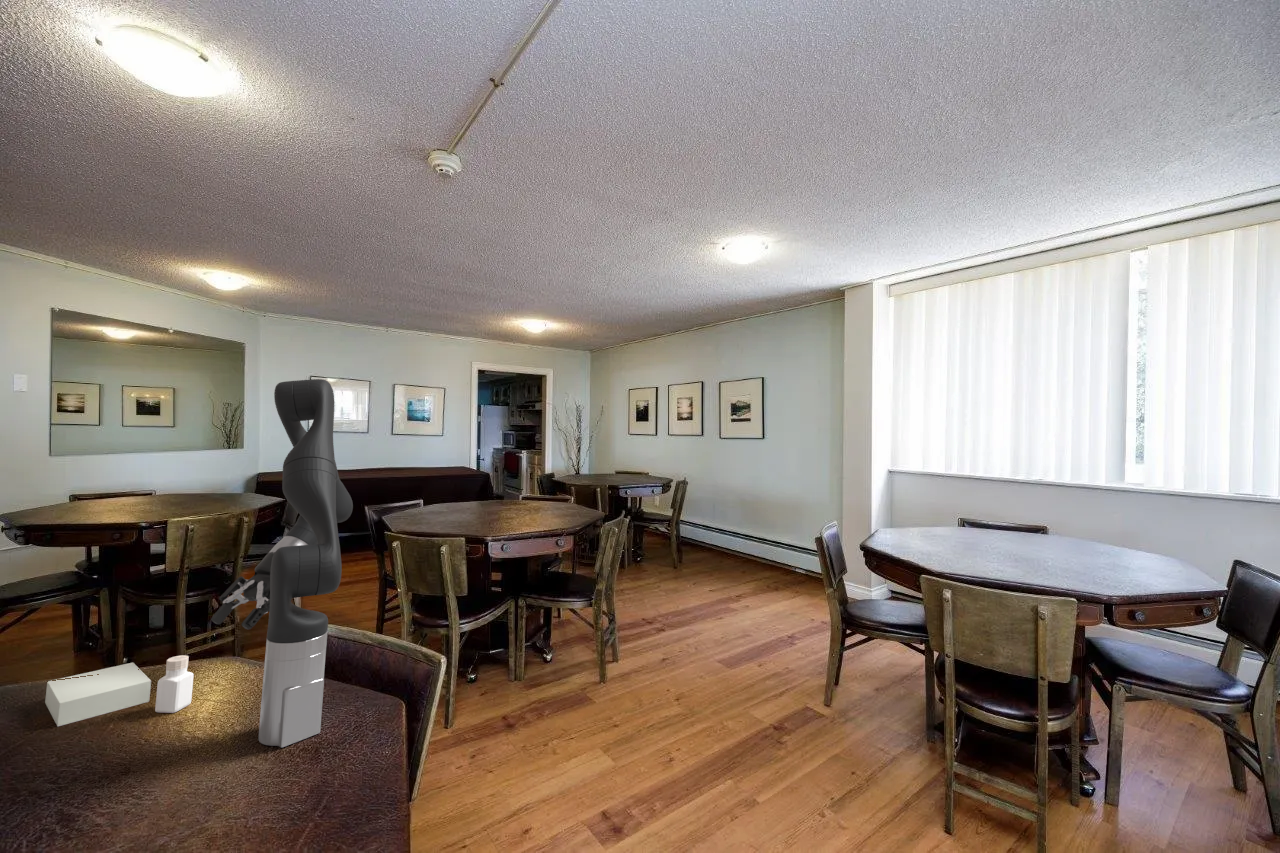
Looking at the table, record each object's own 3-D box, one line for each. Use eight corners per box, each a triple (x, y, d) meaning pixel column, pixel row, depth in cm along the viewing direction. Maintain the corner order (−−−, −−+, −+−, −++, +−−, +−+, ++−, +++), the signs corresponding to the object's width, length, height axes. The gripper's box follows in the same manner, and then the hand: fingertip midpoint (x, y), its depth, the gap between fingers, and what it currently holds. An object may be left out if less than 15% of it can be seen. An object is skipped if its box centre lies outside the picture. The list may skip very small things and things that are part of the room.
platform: (149, 701, 100) (151, 680, 100) (57, 726, 90) (60, 703, 91) (131, 681, 108) (133, 662, 108) (45, 702, 98) (47, 681, 98)
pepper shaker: (174, 714, 96) (179, 662, 96) (153, 713, 96) (157, 662, 96) (192, 704, 100) (197, 654, 100) (172, 703, 100) (176, 654, 100)
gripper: (250, 548, 119) (192, 612, 107) (299, 553, 115) (244, 620, 104) (270, 566, 124) (216, 629, 112) (317, 572, 120) (266, 638, 108)
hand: (229, 625), depth 108 cm, fingers open, 8 cm apart
